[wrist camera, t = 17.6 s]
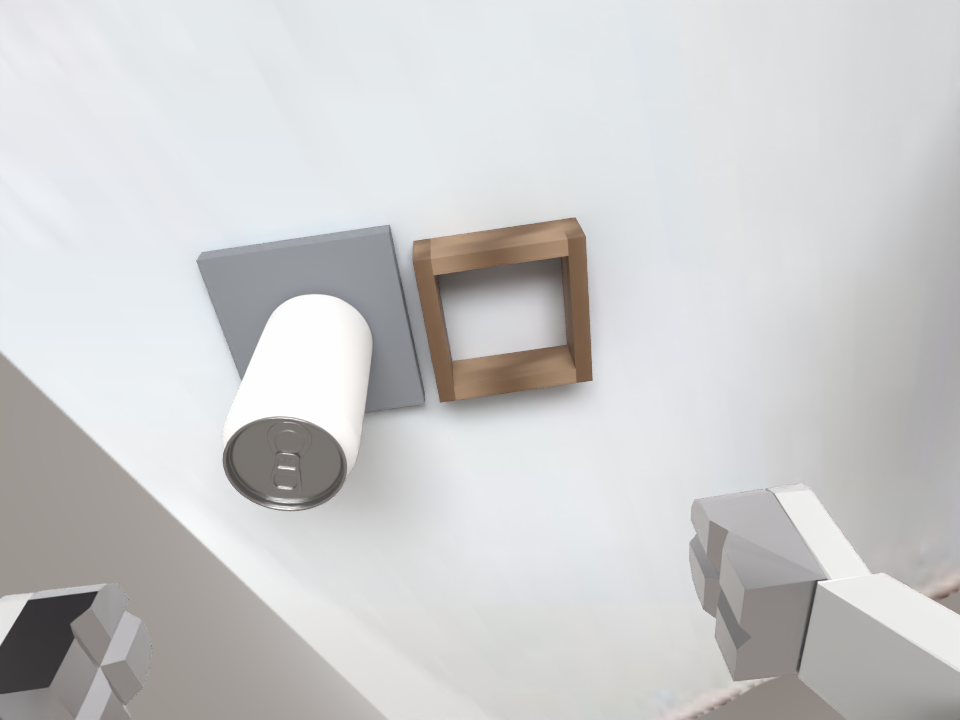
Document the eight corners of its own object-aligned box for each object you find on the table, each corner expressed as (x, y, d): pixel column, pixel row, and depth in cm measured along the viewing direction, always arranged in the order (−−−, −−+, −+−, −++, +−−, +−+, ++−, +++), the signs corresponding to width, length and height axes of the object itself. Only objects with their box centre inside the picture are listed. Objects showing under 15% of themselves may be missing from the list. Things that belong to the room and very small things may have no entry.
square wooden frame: (575, 217, 40) (585, 236, 37) (582, 355, 45) (592, 380, 42) (413, 241, 40) (412, 261, 37) (439, 376, 45) (440, 402, 42)
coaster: (389, 224, 39) (388, 232, 38) (424, 393, 46) (424, 404, 45) (202, 252, 39) (196, 260, 38) (263, 416, 46) (259, 427, 45)
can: (380, 299, 40) (364, 420, 30) (366, 388, 44) (348, 524, 33) (268, 282, 39) (213, 400, 29) (263, 374, 43) (211, 510, 32)
